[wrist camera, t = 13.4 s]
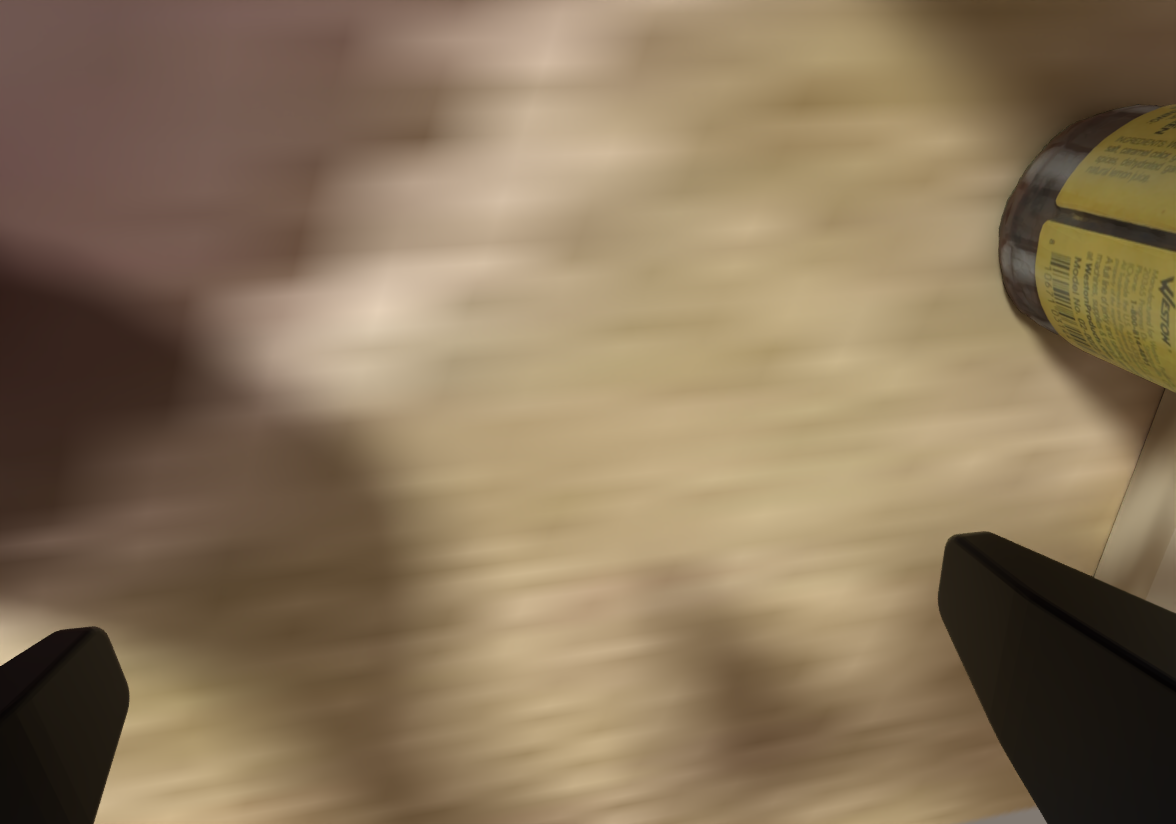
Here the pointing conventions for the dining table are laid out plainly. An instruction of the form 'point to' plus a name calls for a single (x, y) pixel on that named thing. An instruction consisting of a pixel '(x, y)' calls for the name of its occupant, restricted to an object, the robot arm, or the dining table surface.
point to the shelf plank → (1148, 519)
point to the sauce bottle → (1101, 239)
